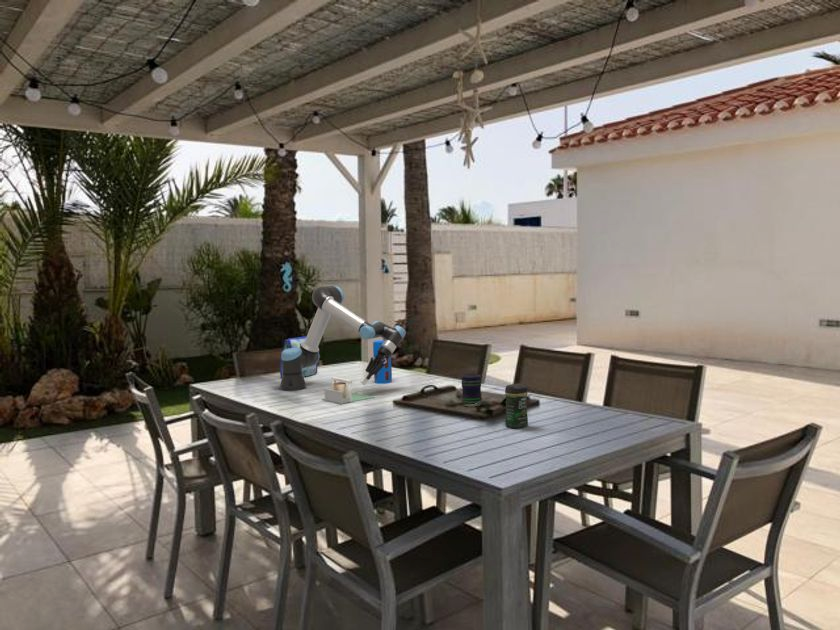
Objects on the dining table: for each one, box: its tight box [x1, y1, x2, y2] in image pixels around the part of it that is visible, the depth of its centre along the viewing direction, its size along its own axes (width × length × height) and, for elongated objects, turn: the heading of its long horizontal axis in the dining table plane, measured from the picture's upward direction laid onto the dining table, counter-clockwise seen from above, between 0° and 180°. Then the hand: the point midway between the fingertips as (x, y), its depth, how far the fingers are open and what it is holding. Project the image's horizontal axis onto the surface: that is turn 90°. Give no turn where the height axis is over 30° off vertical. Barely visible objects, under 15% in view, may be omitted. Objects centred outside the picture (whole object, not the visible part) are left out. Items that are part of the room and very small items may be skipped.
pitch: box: [321, 392, 375, 405], centre depth 363 cm, size 18×22×1 cm
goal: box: [324, 376, 353, 405], centre depth 356 cm, size 16×7×11 cm, turn 41°
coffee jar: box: [504, 382, 529, 429], centre depth 290 cm, size 10×8×19 cm
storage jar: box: [461, 373, 483, 404], centre depth 336 cm, size 10×10×15 cm
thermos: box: [372, 339, 393, 385], centre depth 410 cm, size 11×11×25 cm
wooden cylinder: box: [332, 381, 348, 399], centre depth 356 cm, size 7×7×9 cm
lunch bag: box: [279, 335, 318, 379], centre depth 439 cm, size 22×17×26 cm
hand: (362, 383), depth 366 cm, fingers closed
